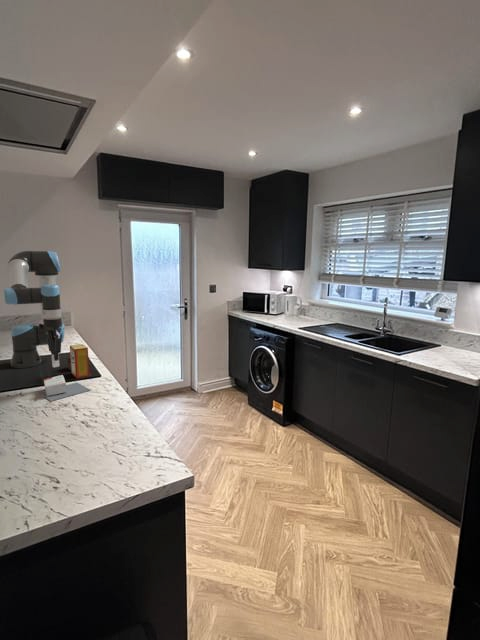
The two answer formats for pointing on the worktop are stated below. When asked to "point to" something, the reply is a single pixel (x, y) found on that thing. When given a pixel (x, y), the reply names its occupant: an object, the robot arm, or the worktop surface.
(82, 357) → the baking soda box
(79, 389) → the mat
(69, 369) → the box
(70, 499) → the worktop surface
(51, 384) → the ink box
